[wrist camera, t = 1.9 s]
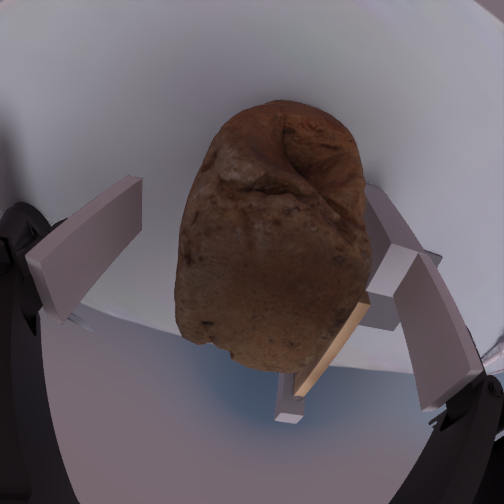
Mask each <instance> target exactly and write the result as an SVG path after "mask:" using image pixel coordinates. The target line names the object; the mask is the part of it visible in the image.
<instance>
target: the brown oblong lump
mask: <svg viewBox="0 0 504 504" xmlns="http://www.w3.org/2000/svg"><path fill="white" fill-rule="evenodd" d="M365 185H366V183H365V179H364V176H363V168H362V164H361V160H360V156H359V152H358V148H357V145H356V142H355V140H354V138H353V136H352V134H351V133H350V132H349V130H348V129H347V128H346V127H345V126H344V125H343V124H342V123H341V122H340V121H338V120H337V119H335V118H334V117H333V116H332V115H330V114H328V113H326V112H324V111H322V110H320V109H317V108H315V107H312V106H309V105H305V104H302V103H297V102H292V101H285V100H275V101H271V102H268V103H266V104H265V105H259V106H255V107H252V108H249V109H246V110H243V111H241V112H240V113H238V114H236V115H235V116H234V117H232V118H231V119H230V120H229V121H227V122H226V123H225V124H224V125H223V126H222V127H221V129H220V131H219V132H218V134H217V135H216V136H215V137H214V138H213V141H212V143H211V145H210V147H209V149H208V151H207V154H206V156H205V158H204V160H203V164H202V166H201V168H200V169H199V171H198V173H197V175H196V178H195V180H194V183H193V185H192V188H191V190H190V193H189V195H188V199H187V202H186V206H185V209H184V213H183V217H182V222H181V226H180V235H179V248H178V263H177V270H176V281H175V289H174V299H175V318H176V323H177V326H178V328H179V330H180V333H181V335H182V337H183V338H185V339H187V340H189V341H191V342H193V343H195V344H197V345H202V344H206V343H207V342H208V343H213V344H214V345H216V346H217V347H218V348H220V349H224V350H228V351H229V352H230V355H231V359H232V360H234V361H236V362H238V363H240V364H242V365H244V366H246V367H249V368H253V369H257V370H261V371H272V372H280V373H288V374H290V373H294V372H297V371H299V370H302V369H304V368H306V367H308V366H311V365H313V364H314V363H315V362H316V361H317V360H318V359H319V357H320V356H321V355H322V354H323V353H324V352H325V351H326V350H327V348H328V346H329V345H330V343H331V341H332V340H333V339H334V338H335V337H336V335H337V334H338V333H339V332H340V330H341V329H342V328H343V326H344V325H345V323H346V322H347V320H348V318H349V317H350V315H351V314H352V312H353V311H354V309H355V307H356V306H357V304H358V302H359V300H360V298H361V295H362V293H363V291H364V289H365V287H366V284H367V281H368V279H369V276H370V273H371V264H372V249H371V244H370V238H369V237H368V235H367V231H366V225H365V221H364V216H363V215H364V212H365V207H366V196H365V193H364V189H365Z"/></svg>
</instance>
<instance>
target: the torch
mask: <svg viewBox="0 0 504 504" xmlns="http://www.w3.org/2000/svg"><path fill="white" fill-rule="evenodd" d="M499 357H504V342H501V344H500V347H499V350H498V352H496V353H495V354H494V355H492V356H491V357H489V358H488V359H486V360H485V361H483V362H482V363H483V366H484V367H485V366H487V365H489V364H490V363H492V362H493V361H495V360H496V359H498V358H499ZM503 371H504V369H501V370H498V371H495V372H491V373H488V374H487V375H493V374H497V373H500V372H503Z"/></svg>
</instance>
